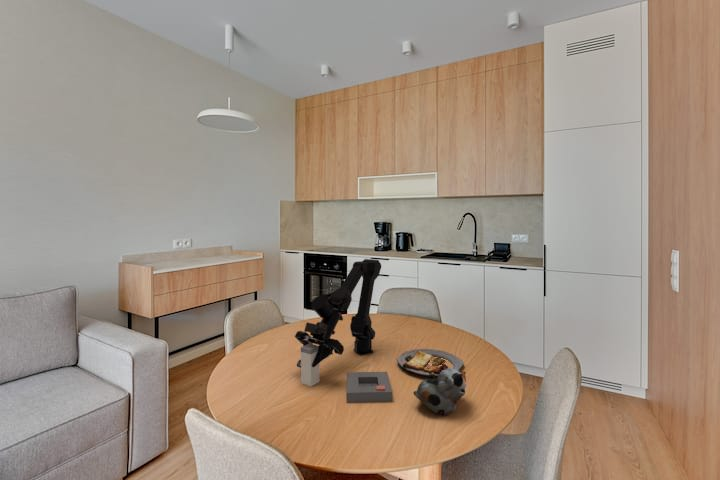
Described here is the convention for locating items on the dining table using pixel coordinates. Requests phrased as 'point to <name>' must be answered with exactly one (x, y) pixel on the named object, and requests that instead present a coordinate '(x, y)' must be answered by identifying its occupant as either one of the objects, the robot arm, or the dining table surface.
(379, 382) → the grey slotted slab
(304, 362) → the grey rectangular block
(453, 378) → the lucky cat figurine
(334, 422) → the dining table surface
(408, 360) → the food plate
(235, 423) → the dining table surface
